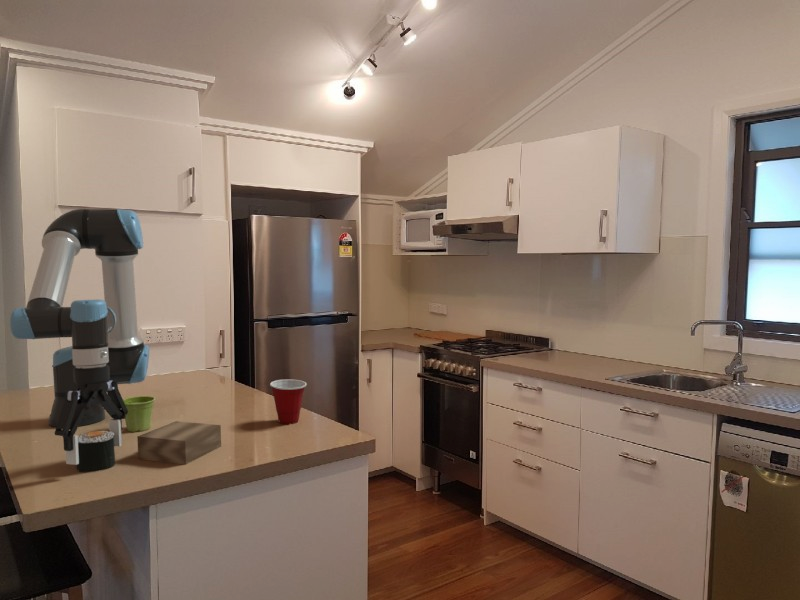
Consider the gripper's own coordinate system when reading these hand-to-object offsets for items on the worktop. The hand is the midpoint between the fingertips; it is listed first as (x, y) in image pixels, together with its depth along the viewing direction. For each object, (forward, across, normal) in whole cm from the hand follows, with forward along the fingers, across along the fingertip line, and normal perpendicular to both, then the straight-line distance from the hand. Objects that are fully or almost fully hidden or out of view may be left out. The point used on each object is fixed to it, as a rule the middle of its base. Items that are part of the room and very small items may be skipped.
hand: (95, 454), depth 137 cm
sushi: (+3, 0, 0) cm, 3 cm away
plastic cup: (+3, +45, -29) cm, 54 cm away
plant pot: (+3, +29, +11) cm, 31 cm away
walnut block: (+3, +13, -14) cm, 19 cm away
